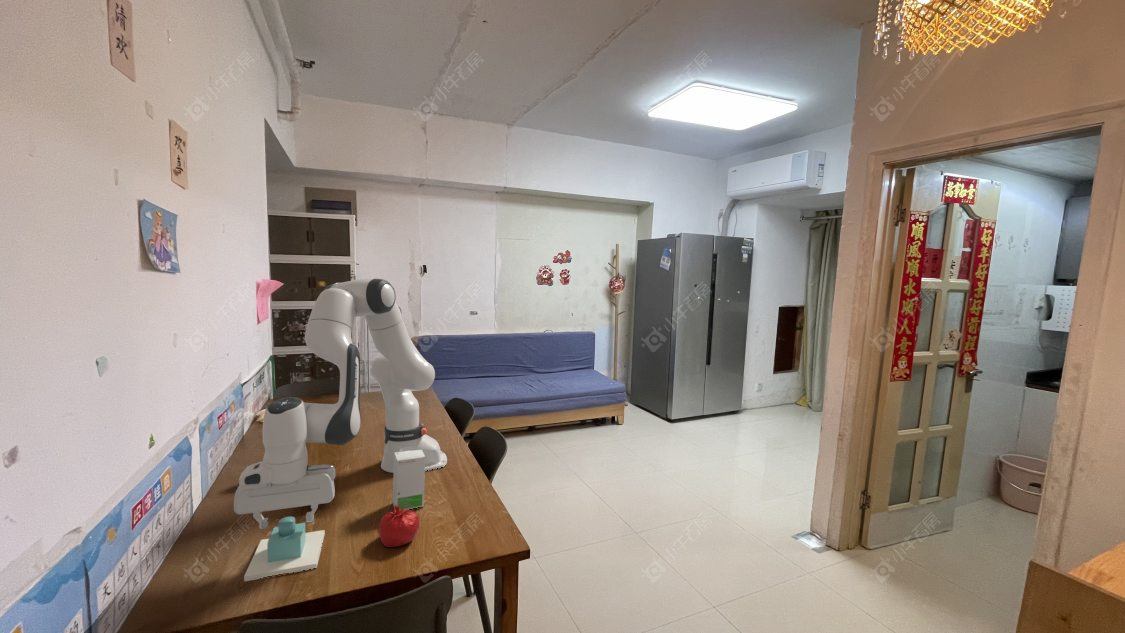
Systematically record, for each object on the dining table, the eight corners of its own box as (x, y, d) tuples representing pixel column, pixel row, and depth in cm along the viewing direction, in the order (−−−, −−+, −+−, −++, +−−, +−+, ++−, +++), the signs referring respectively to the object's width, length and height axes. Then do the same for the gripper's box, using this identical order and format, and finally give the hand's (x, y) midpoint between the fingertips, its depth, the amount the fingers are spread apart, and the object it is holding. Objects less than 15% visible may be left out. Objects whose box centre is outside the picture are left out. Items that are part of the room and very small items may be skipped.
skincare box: (395, 513, 126) (395, 461, 125) (392, 502, 132) (392, 452, 131) (425, 507, 130) (425, 456, 129) (421, 496, 136) (421, 448, 135)
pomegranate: (418, 548, 111) (419, 513, 110) (375, 554, 108) (375, 518, 107) (419, 526, 121) (420, 494, 120) (380, 531, 118) (380, 498, 117)
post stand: (324, 534, 115) (324, 517, 115) (316, 568, 102) (316, 549, 102) (261, 544, 110) (260, 526, 110) (244, 581, 97) (243, 561, 97)
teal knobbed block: (305, 540, 110) (305, 511, 110) (300, 557, 104) (300, 525, 103) (274, 545, 108) (273, 515, 107) (267, 562, 102) (266, 530, 101)
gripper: (336, 457, 111) (337, 510, 112) (239, 467, 103) (240, 523, 105) (333, 468, 105) (334, 523, 106) (230, 480, 97) (232, 539, 99)
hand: (287, 523), depth 105 cm, fingers open, 8 cm apart
